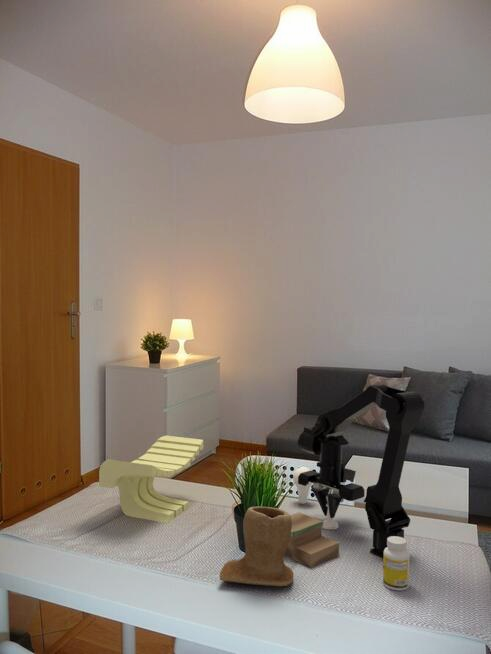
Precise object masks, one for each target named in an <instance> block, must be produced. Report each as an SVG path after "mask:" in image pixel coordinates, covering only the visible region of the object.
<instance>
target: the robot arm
mask: <svg viewBox="0 0 491 654" xmlns="http://www.w3.org/2000/svg"><path fill="white" fill-rule="evenodd" d="M374 406H377V407H378V408H380V409H382V410H384V411H385V418H386V421H387V423H388V424H387V425H388V426H389V427H388V433H387V436H386V437H387V438H386V442H385V446H384V451H383V456H382V461H381V467H380V470H379V475H378V479H377V482H376V484H373V485H369V486H367V488H366V490H365V488H364V486H363V485H359V484H357V483H354V481H355V477H356V473H357V471H356V470H353V469H350V468H346V464H345V462H342V460H343V446H346V445H349V441H348V439H346V438H345V437H344V435H342V434H341V433H344V432H345V431H346V430H348V428H349V427H350V426H351V424H352V422H353V421H354V420H355V419H357V417H359V416H361V415H362V414H365V412H367V411H368V410H370V409H372V408H373V407H374ZM424 410H425V400H423V398H422V396H421V394H419V393H417V392H416V391H406V390H404V389H399V388H394V387H391V386H388V385H386V384H384V383H379V384H371V385H369V386H367V387H366V389H364V390H363V391H361V392H360V393H358V394H357V395H356V396H354V397H352V398H351V399H350V400H348V401H346V402H345V403H343V405H341V406H340V407H337V408H334V409H330V410H327V411H324V412H322V413H320V414H319V415H318V416H317V420H316V421H315V424H314V425H312V426H313V427H312V426H305V427H303V431H302V432H301V433H300V435H299V437H298V439H297V445H298V448H299V449H300V450H302V451H304V452H307V453H309V454H313V455H316V456H319V461H318V462H316V467H318V468H319V472H317V471H314V470H311V471H307V472H303V473H300V475H299V476H298V484H301V485H303V486H306V485H307V484H309V482H312V488H310V492H313V494H314V495H313V496H315V498H316V500H317V502H318V504H319V506H320V508H321V511H322V513H323V516H324V517H327V511H328V507H327V506H326V504H327V503H328V505H329V513H330V517H331V518H333V519H334V518H335V516H336V514H337V512H338V508H339V506H340V504H341V502H342V500H345V501H348V502H354V501H357V500H359V499H363V498H364V500H363V503H365V506H364V509H365V512H366V516H367V520H368V524H369V525H368V526H369V528H370V529H371V530H372V548H370V549H369V553H371V554H375V555H376V556H378V557H381V558H383V554H384V549H385V548H386V547H388V546H387V538H388V537H391V536H398V537H402V538H404V539H405V529H404V528H408V527H409V526H410V523H411V519H410V517H409V515H408V513H407V512H406V510H405V508H404V506H403V496H402V492H401V490H400V481H401V477H402V473H403V468H404V463H405V459H406V454H407V452H408V451H407V450H408V446H409V442H410V441H409V440H410V436H411V432H412V431H413V430H414V428H415V427H416V425H417V424H418V423H419V422H420V420H421V417H422V415H423V412H424ZM335 434H341V435H336V436H334V435H335ZM347 481H349V482H351V483H346V482H347ZM342 483H343V484H342ZM344 483H346V484H344ZM329 489H331V491H332V493H331V494H328V492H329ZM365 491H366V493H365ZM326 496H327V497H328V502H327V498H326Z"/></svg>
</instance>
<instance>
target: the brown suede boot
mask: <svg viewBox="0 0 491 654" xmlns="http://www.w3.org/2000/svg"><path fill="white" fill-rule="evenodd" d="M290 515H291V514H290V513H288V512H287V511H286V510H283V509H280V508H277V507H271V506H251V507H249V508H248V509H247V510H246V511H245V514H244V518H243V520H242V531H243V538H244V539H243V541H244V546H245V547H244V548H245V550H244V551H245V554H244V556H243V557H242V558H239V559H237V558H235V559H231V560H227V562H225V563H224V564H223V566H222V567H221V570H220V573H219V580H220V581H224V582H231V583H238V584H247V585H257V586H268V587H286V586H289V585H291V583H292V582H293V581H294V576H295V575H294V571H293V570H292V569H291V567H290V566H288V565H286V564H285V552H286V549H287V547H288V544H289V541H290V537H291V528H292V519H291V516H290Z"/></svg>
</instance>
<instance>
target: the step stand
mask: <svg viewBox="0 0 491 654" xmlns="http://www.w3.org/2000/svg"><path fill="white" fill-rule="evenodd" d="M289 515H290V516H291V519H292V528H291V537H290V541H289V544H288V547H287V549H286V552H285V555H284V557H287V558H290V559H291V560H294V561H296V562H298V563H301V564H302V565H304V566H307V567H309V568H313V567H315V566H317V565H320V564H322V563H324V562H326V561H329V560H330V559H333V558H335V557H337V556H340V542H338V541H336V540H334V539H332V538H330V537H326V536H325V535H322V531H323V528H322V527H323V520H319V519H317V518H315V517H312V516H309V515H307V514H305V513H302V512H296V513H293V514H289Z"/></svg>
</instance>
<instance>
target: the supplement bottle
mask: <svg viewBox="0 0 491 654" xmlns="http://www.w3.org/2000/svg"><path fill="white" fill-rule="evenodd" d="M387 546H388V547H386V548H385V549H384V554H383V557H382V558H383V559H382V560H383V562H382V563H383V567H382V571H383V572H382V582H383V585H384V586H385V587H386V589H387V588H388V589H389V590H393V591H399V592H400V591H405V590H408V588H409V587H410V571H411V570H410V564H411V563H410V562H411V557H410V556H411V555H410V552H409V550H408V549H407V540H406V538H405V537H404V538H402V537H398V536H391V537H388V538H387Z"/></svg>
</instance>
